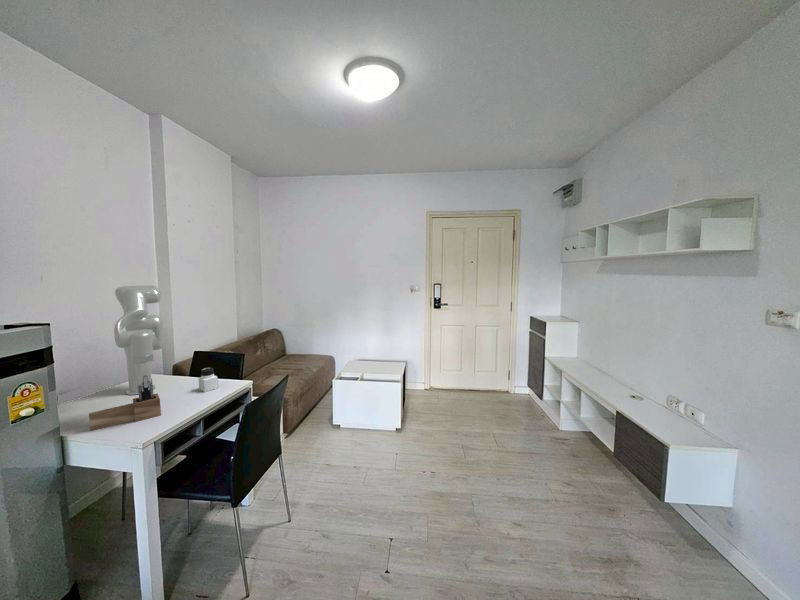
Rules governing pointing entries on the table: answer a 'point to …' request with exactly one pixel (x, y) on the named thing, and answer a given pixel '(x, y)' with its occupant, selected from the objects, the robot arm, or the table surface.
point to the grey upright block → (141, 390)
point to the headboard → (126, 413)
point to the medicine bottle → (208, 380)
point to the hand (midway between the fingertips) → (146, 397)
